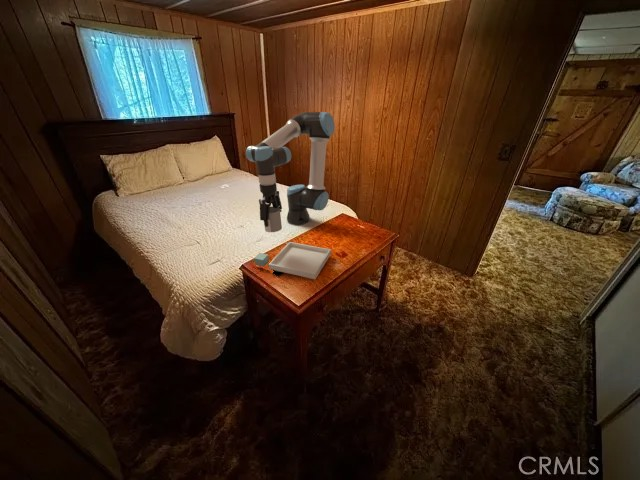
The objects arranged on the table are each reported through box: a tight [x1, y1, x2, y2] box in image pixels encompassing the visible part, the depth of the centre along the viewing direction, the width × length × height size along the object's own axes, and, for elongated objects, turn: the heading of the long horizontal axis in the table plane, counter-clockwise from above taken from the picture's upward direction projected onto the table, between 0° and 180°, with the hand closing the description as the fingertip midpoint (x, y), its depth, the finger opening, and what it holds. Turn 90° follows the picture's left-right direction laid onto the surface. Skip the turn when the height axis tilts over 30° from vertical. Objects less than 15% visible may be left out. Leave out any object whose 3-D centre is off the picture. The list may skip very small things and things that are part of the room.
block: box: [253, 252, 270, 267], centre depth 124 cm, size 5×5×5 cm
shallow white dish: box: [268, 241, 332, 280], centre depth 124 cm, size 22×24×4 cm
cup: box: [268, 205, 283, 233], centre depth 124 cm, size 8×8×10 cm
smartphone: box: [272, 270, 285, 278], centre depth 123 cm, size 7×1×15 cm
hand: (273, 227), depth 126 cm, fingers closed on cup, 8 cm apart
